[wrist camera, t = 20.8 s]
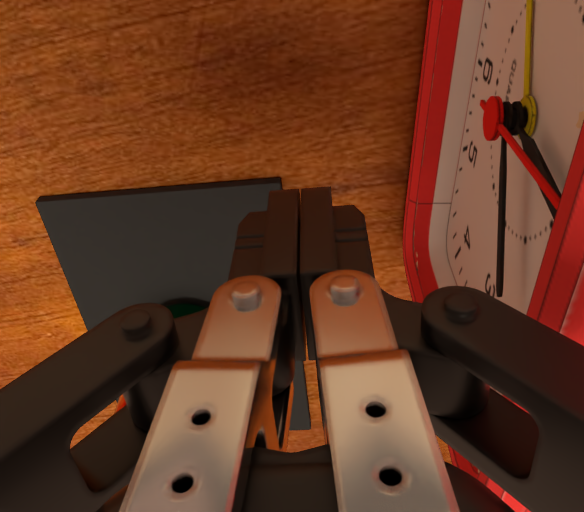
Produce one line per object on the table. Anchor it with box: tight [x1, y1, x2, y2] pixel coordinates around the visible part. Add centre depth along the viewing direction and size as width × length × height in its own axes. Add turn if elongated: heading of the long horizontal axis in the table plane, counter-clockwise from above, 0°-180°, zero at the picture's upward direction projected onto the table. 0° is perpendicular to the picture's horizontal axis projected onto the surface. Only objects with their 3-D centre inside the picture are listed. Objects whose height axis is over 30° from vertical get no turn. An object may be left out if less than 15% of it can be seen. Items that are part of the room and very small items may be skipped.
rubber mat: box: [35, 178, 311, 430], centre depth 32 cm, size 18×12×1 cm, turn 6°
